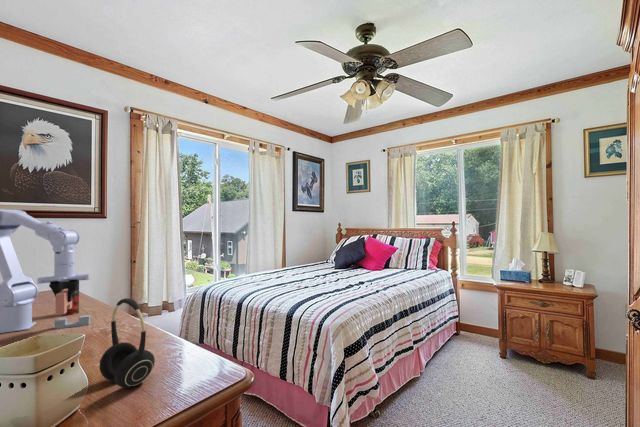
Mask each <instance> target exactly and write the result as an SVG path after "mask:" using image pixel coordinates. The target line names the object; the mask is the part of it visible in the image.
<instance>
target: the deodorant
mask: <svg viewBox="0 0 640 427" xmlns="http://www.w3.org/2000/svg"><path fill="white" fill-rule="evenodd" d="M65 280H71V279H65ZM68 282H69V281H65V282H62V286H61V291H62V290H64V289H68V286H67V283H68ZM79 312H80V282H79V283H78V284H77V286H76V288H75V290H74V293H73V296H72V308H71V309H67V312H66V313H65V314H63V315H61V316H63V317H64V316H72V315H76V314H79Z"/></svg>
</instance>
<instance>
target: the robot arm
mask: <svg viewBox="0 0 640 427" xmlns="http://www.w3.org/2000/svg"><path fill="white" fill-rule="evenodd" d="M21 226H22V227H24V228H28V229H30V230H33V231H34V233H35V235H36V236H38V237H40V238H42V239H43V240H44V239H45V240H46V241H49V243H50V245H51V246H52V250H53V252H54V255H53V256H54V262H53V263H54V268H53V270H54V271H53V272H54V274H53V276H41V277H37V284H36V283H35V282H34V280H33V278H31V277H29V276H27V275H24V273H23V270H22V267H21V263H20V261H19V258H18V256H17V253H16V251H15V248H14V245H13V243H12V240H11V237H10V236H11V234H14V233H15V232H16V231H17V230H18V229H19V228H20V227H21ZM79 241H80V235H79V233H78V232H77V231H76V230H75V229H68V230H67V229H65V227H63V226H59V225H56V224H55V223H54V221H50V220H49V221H40V220H39V219H36V218H35V217H33V216H31V215H29V214H27V212H26V211H23V210H21V209H17V208H16V209H6V208H5V209H3V208H0V276H1V277H2V282H1V283H0V334H4V333H12V332H20V331H27V330H28V331H29V330H30V329H31V328H32V327H34V326H35V325H36V324H37V321H33V302H35V299H36V298H37V297H38V296H39V291H40V290H39V287H38V285H40V284H48V286H49V288H50V289H51V291H52V293H53V294H54V297H55V298H56V294H58V293H59V292H61V286H62V282H65V281H69V282H68V283H67V286H68V302H71V301H72V296H73V293H74V290H75V288H76V286H77V284H78V283H79V284H80V281H89V280H90V278H91V273H90V274H89V273H82V274H75V273H76V272H75V271H76V268H75V267H76V245H77V244H78V243H79ZM65 279H71V280H65Z"/></svg>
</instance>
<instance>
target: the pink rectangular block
mask: <svg viewBox="0 0 640 427" xmlns="http://www.w3.org/2000/svg"><path fill="white" fill-rule="evenodd" d="M71 308H72V301H71V302H68V289H64V290H62V291H61V292H59V293H58V294H56V297H55V310H54V311H55V316H62V315H63V314H65V313H66V312H67V309H71Z"/></svg>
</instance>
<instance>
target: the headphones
mask: <svg viewBox="0 0 640 427" xmlns="http://www.w3.org/2000/svg"><path fill="white" fill-rule="evenodd" d="M122 304H127V305H129V306H130V307H131V308H132V309H133V310H135V311H136V313H137V315H138V318H139V320H140V325H141V331H140V342H139V346H138V349H137V347H136V346H135V345H134V344H131V343H129V342H126V341H125V342H120V341H119V335H118V332H117V321H116V314H117V311H118V309H119V307H120V306H121V305H122ZM139 306H140V305H139V304H138V303H137V301H135V300H134V299H133V298H123V299H120V300H119V301H118V302H116V306H115V307H114V309H113V312H112V315H111V321H110V322H111V323H110V326H111V329H110V332H111V342H112V343H111V344H112V345H111V346H109V348H108V349H106V350H105V351H104V353H103V354H102V356H101V358H100V360H99V372H100V374H101V375H102V377H103V378H104V379H106V380H108V381H110V382H115V383H116V384H115V385H117V386H119V387H120V388H123V389H127V388H126V387H129V388H132V387H131V386H133V387H135V386H137V385H140V384H141V383H143V382H144V381H145V380H146V379H147V378H149V376H150V374H151V372H152V371H153V369H154V366H155V361H156V359H155V356H154V354H153V353H152V352H151V351H150V350H147V349H146V341H147V340H146V338H147V334H146V333H147V331H146V325H145V320H144V317H143V314H142V311H140V307H139Z"/></svg>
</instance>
